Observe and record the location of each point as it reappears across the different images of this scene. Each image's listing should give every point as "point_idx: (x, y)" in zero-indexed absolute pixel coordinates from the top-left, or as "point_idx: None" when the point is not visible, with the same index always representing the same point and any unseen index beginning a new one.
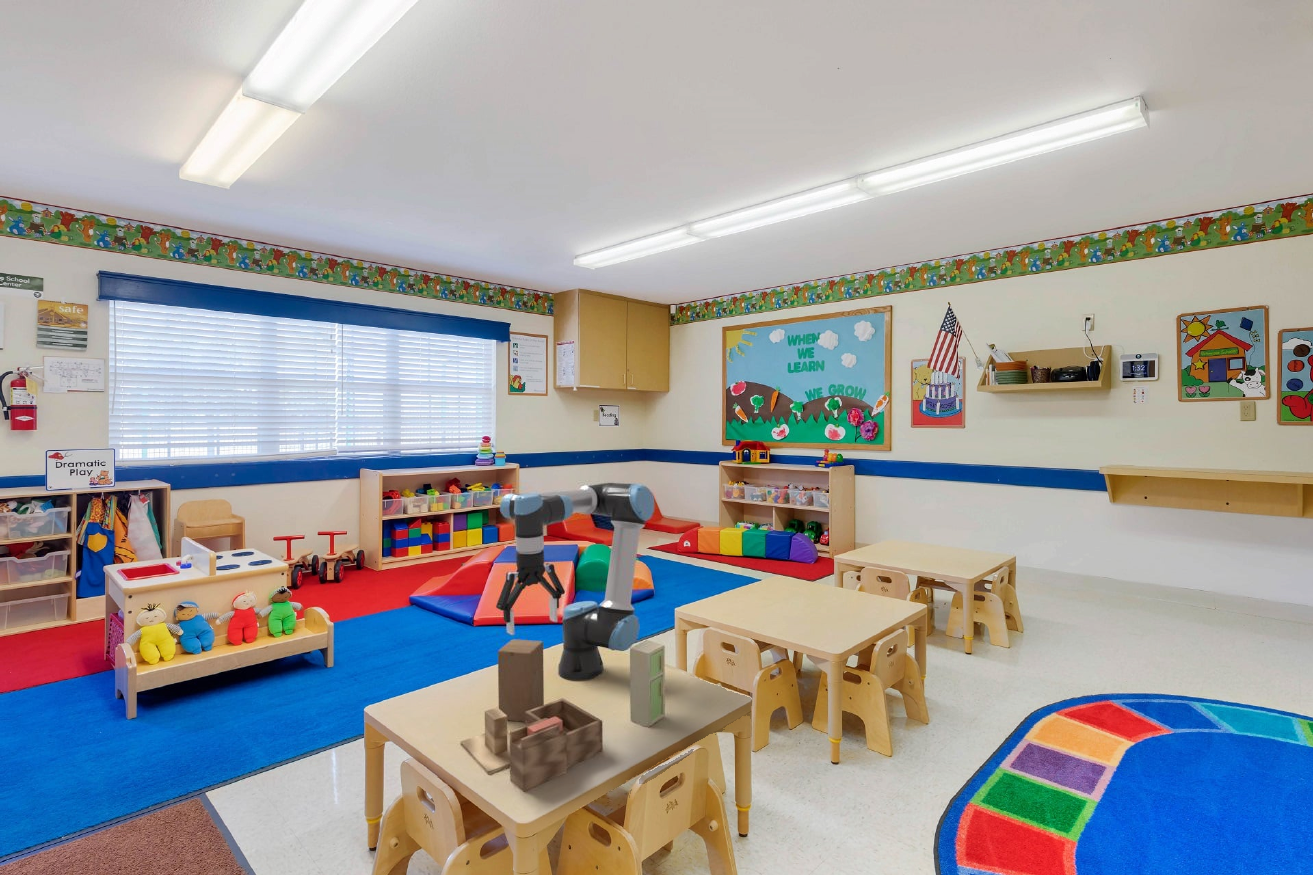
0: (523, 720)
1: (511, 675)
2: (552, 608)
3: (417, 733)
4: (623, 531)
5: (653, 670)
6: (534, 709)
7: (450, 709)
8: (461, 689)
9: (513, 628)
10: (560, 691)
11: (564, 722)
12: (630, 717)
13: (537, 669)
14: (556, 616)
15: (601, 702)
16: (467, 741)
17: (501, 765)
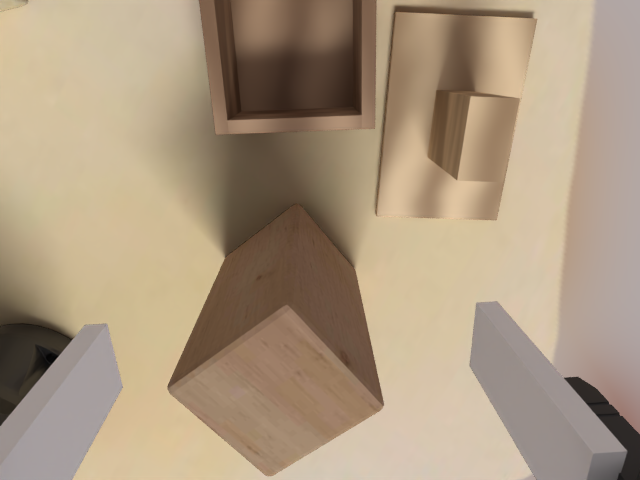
0: (312, 219)
1: (341, 308)
2: (62, 430)
3: (533, 328)
4: None
5: None
6: (340, 121)
7: (417, 386)
8: (347, 456)
9: (502, 327)
10: (141, 310)
11: (237, 98)
12: (22, 2)
13: (239, 293)
14: (71, 349)
15: (63, 178)
16: (484, 208)
17: (494, 21)
